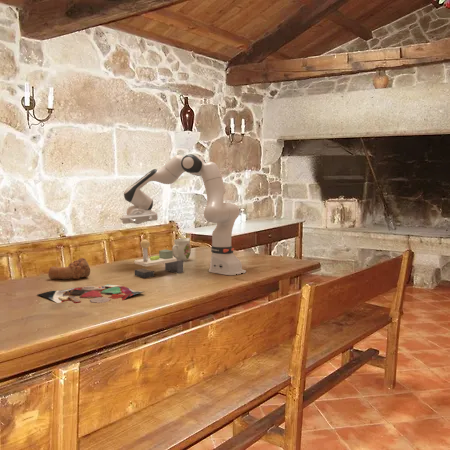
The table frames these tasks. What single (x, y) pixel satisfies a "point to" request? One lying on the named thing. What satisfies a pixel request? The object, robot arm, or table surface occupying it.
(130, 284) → the table surface
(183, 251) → the pitcher
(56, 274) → the clay pipe
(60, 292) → the colourful flat sheet
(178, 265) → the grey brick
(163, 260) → the plate
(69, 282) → the table surface
